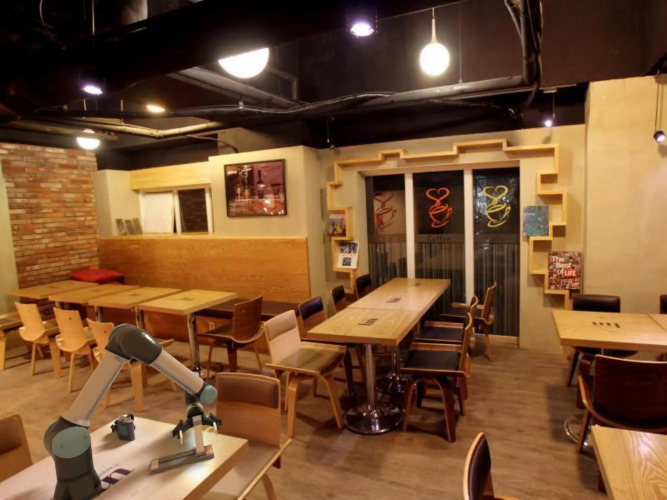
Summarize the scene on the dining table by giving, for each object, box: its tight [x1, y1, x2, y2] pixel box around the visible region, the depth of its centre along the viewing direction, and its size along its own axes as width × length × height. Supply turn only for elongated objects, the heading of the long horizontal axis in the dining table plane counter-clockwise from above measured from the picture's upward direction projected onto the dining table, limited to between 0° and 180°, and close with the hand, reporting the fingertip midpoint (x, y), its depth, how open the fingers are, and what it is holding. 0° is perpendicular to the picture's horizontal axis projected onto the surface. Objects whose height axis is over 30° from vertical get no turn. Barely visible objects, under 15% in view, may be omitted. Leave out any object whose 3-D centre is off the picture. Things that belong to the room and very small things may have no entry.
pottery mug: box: [109, 413, 137, 433], centre depth 199 cm, size 12×10×8 cm
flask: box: [116, 415, 136, 442], centre depth 190 cm, size 9×3×11 cm, turn 68°
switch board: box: [150, 443, 215, 475], centre depth 171 cm, size 24×8×2 cm, turn 113°
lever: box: [193, 415, 206, 456], centre depth 173 cm, size 4×6×14 cm
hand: (199, 436), depth 170 cm, fingers open, 13 cm apart
